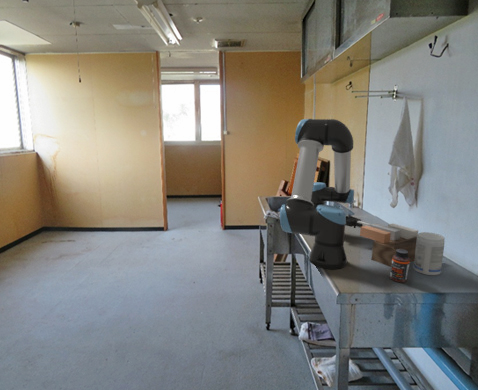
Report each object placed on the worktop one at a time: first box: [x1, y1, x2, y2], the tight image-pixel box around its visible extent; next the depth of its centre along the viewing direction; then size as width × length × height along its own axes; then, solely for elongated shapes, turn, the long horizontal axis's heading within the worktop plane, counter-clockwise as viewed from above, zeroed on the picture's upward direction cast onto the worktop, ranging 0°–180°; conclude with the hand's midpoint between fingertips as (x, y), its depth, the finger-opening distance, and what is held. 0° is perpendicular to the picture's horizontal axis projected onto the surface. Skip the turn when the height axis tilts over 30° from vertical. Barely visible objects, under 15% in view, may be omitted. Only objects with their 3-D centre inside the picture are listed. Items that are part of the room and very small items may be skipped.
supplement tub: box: [413, 231, 446, 276], centre depth 135 cm, size 10×10×15 cm
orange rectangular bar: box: [359, 226, 391, 243], centre depth 149 cm, size 12×4×4 cm, turn 33°
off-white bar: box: [387, 223, 419, 239], centre depth 153 cm, size 12×4×4 cm, turn 33°
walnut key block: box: [371, 237, 417, 268], centre depth 148 cm, size 10×21×10 cm, turn 123°
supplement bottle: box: [389, 249, 410, 283], centre depth 127 cm, size 6×6×11 cm
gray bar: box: [371, 223, 401, 241], centre depth 152 cm, size 12×4×4 cm, turn 33°
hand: (369, 227), depth 159 cm, fingers closed
